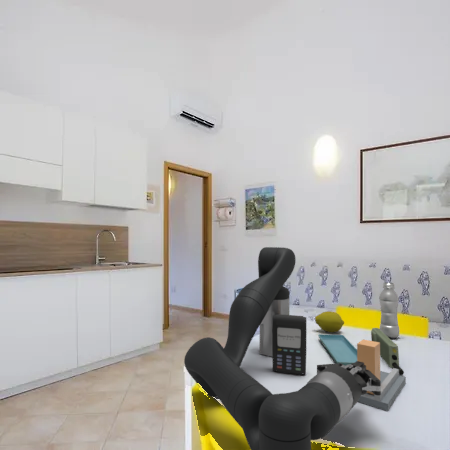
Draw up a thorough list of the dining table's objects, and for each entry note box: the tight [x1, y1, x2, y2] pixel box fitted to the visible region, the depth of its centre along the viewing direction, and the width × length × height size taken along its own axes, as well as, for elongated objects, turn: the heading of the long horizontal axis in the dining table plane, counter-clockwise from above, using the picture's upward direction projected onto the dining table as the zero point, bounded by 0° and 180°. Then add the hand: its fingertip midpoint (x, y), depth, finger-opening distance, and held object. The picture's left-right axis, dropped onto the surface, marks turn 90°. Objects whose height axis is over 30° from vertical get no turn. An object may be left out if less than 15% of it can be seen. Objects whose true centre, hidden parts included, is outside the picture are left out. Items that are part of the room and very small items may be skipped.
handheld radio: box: [370, 327, 405, 376], centre depth 100 cm, size 7×3×25 cm
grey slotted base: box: [357, 368, 407, 412], centre depth 80 cm, size 18×10×3 cm, turn 141°
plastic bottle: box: [378, 282, 400, 339], centre depth 124 cm, size 6×7×20 cm
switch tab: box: [356, 339, 381, 395], centre depth 76 cm, size 5×4×10 cm
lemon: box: [314, 310, 345, 333], centre depth 130 cm, size 11×8×8 cm
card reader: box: [271, 314, 307, 376], centre depth 90 cm, size 9×4×15 cm, turn 75°
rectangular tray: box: [317, 333, 357, 366], centre depth 106 cm, size 26×9×2 cm, turn 176°
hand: (360, 366), depth 72 cm, fingers closed
